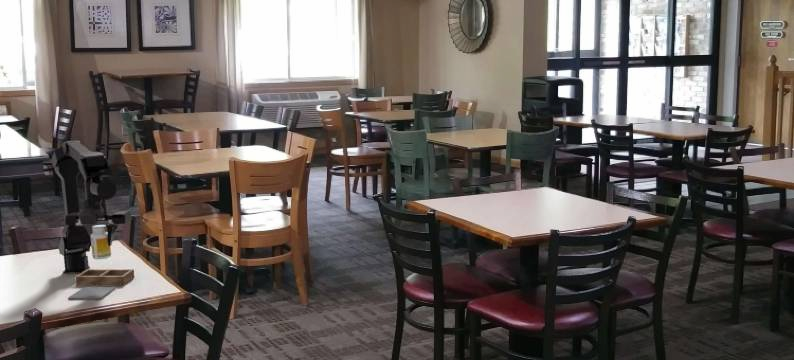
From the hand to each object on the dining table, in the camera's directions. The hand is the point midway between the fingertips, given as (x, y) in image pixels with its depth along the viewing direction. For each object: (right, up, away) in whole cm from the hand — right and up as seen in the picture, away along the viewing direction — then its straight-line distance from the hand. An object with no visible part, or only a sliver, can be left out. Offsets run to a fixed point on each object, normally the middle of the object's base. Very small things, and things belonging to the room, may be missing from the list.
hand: (100, 246), depth 261 cm
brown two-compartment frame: (-2, -12, +10) cm, 16 cm away
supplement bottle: (0, -4, +1) cm, 4 cm away
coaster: (-1, -14, -3) cm, 15 cm away
